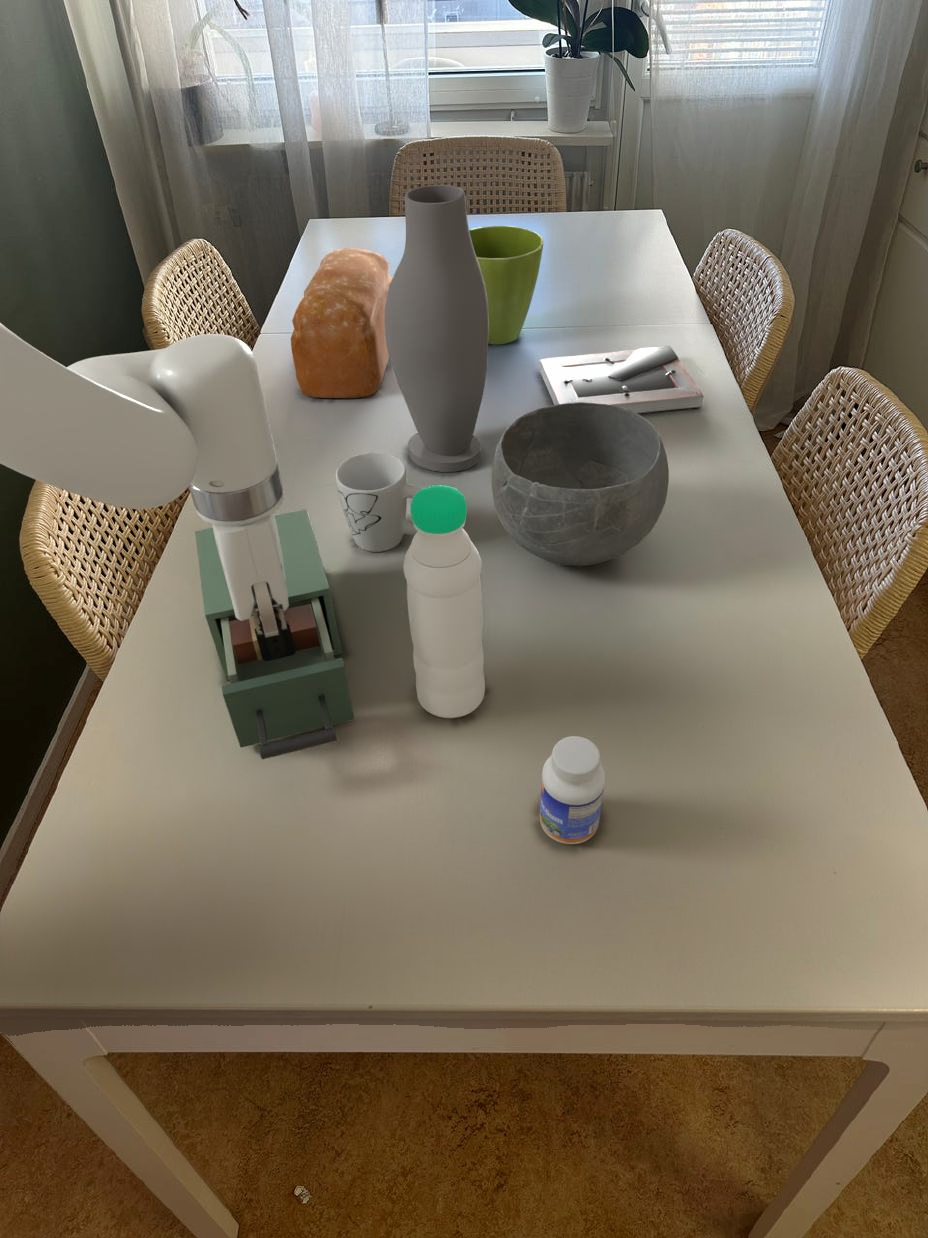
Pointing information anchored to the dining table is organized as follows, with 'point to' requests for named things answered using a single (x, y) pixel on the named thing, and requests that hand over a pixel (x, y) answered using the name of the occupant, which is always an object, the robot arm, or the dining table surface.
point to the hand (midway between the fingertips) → (276, 640)
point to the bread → (342, 326)
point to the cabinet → (300, 576)
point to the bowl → (579, 481)
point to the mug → (375, 499)
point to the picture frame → (623, 380)
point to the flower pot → (507, 276)
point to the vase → (439, 329)
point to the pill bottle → (572, 791)
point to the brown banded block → (299, 626)
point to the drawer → (287, 693)
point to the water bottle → (445, 604)
